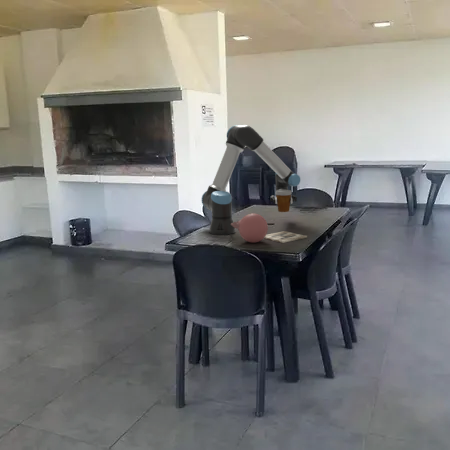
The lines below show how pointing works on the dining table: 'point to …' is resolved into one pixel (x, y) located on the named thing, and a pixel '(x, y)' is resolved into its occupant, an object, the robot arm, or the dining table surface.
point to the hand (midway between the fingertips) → (284, 201)
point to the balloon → (252, 227)
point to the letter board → (284, 236)
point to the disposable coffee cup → (283, 200)
